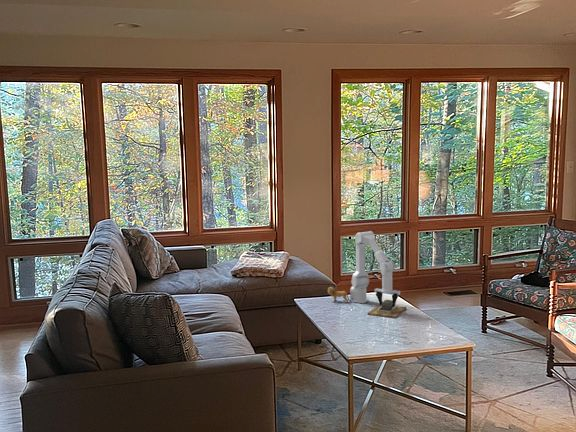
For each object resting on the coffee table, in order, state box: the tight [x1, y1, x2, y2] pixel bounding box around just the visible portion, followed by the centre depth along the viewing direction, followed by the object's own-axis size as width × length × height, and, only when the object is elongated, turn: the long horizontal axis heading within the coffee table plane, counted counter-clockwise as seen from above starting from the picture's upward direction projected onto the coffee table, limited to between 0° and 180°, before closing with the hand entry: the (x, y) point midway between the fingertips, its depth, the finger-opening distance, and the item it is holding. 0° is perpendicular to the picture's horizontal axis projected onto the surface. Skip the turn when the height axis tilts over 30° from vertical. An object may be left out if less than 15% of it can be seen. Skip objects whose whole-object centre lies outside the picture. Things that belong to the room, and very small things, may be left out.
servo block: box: [381, 298, 393, 310], centre depth 324 cm, size 4×9×6 cm, turn 151°
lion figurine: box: [327, 286, 352, 304], centre depth 348 cm, size 15×5×9 cm, turn 73°
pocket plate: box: [367, 304, 407, 319], centre depth 325 cm, size 16×20×2 cm
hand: (387, 305), depth 325 cm, fingers open, 7 cm apart
